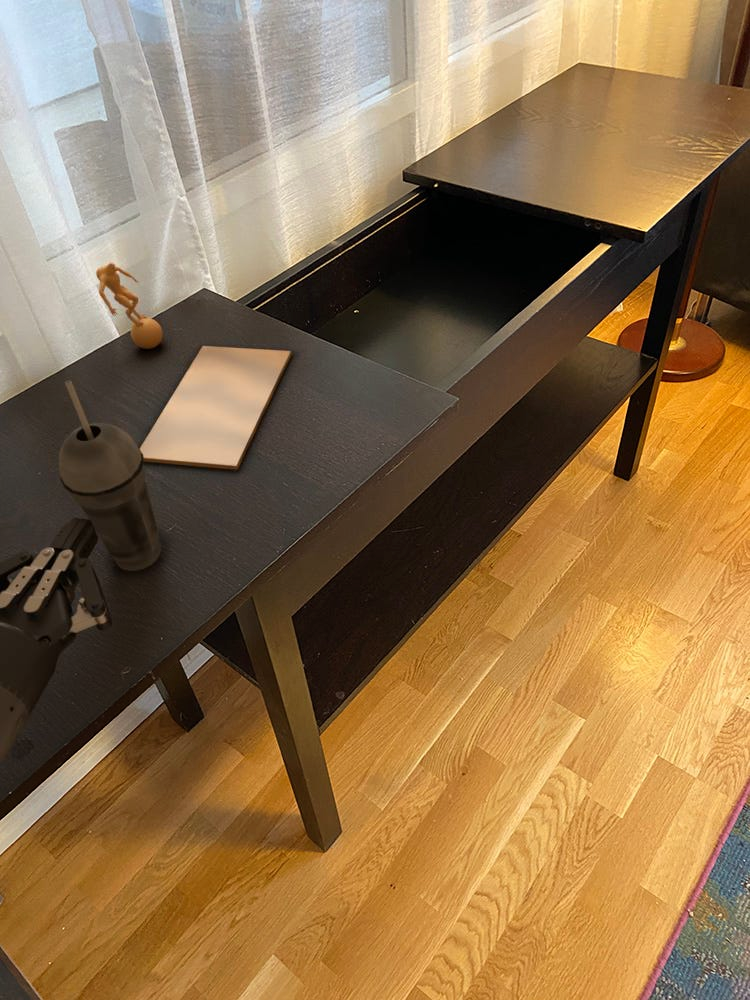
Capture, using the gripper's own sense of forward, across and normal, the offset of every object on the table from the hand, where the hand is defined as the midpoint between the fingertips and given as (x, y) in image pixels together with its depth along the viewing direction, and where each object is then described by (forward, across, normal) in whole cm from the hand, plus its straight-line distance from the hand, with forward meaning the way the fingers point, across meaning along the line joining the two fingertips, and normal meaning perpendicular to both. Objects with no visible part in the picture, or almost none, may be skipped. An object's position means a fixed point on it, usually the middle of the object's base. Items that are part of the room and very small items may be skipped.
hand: (85, 525), depth 67 cm
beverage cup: (+5, 0, +9) cm, 11 cm away
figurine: (+40, +14, +10) cm, 43 cm away
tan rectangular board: (+29, 0, +9) cm, 30 cm away
